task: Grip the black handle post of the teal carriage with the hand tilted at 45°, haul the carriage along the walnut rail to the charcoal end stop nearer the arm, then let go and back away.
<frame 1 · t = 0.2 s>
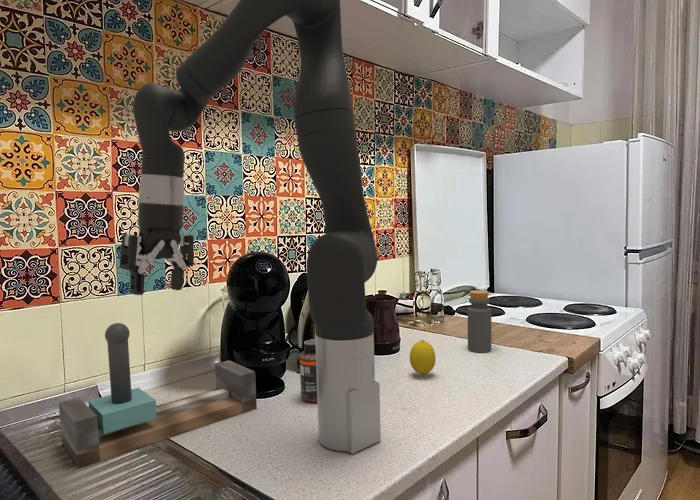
hand: (157, 292, 88), 23 cm above the worktop, tool pointing down, fingers open, 8 cm apart
bottle: (479, 350, 124), on the worktop
supplement bottle: (316, 398, 95), on the worktop
lemon: (422, 376, 106), on the worktop
rail: (166, 425, 85), on the worktop
carriage: (119, 371, 79), point 11 cm above the worktop, slide at 7.0 cm
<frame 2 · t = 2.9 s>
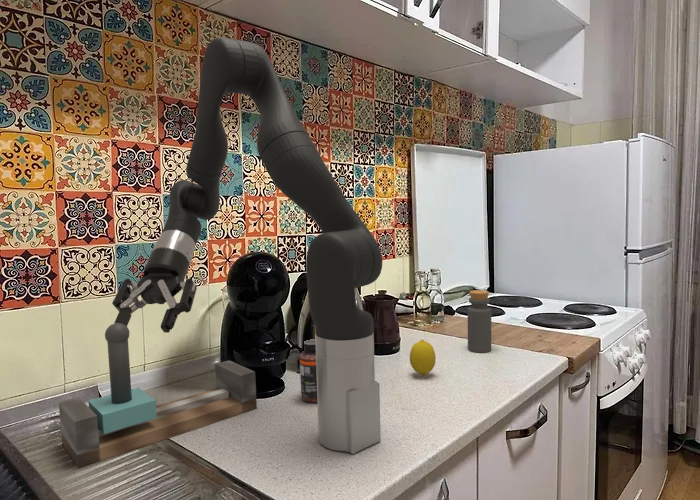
hand: (141, 330, 86), 16 cm above the worktop, tool tilted 45°, fingers open, 8 cm apart
nothing on the worktop moved.
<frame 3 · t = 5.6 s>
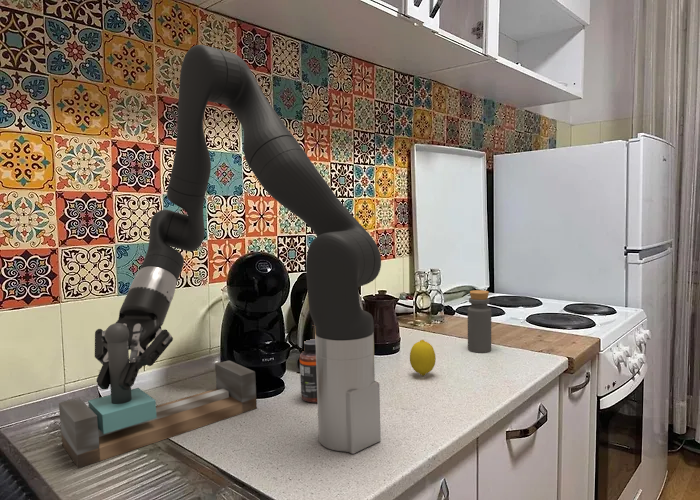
hand: (112, 387, 77), 9 cm above the worktop, tool tilted 45°, fingers closed on carriage, 3 cm apart
carriage: (119, 371, 79), point 11 cm above the worktop, slide at 7.0 cm, touching gripper
everything else where it was.
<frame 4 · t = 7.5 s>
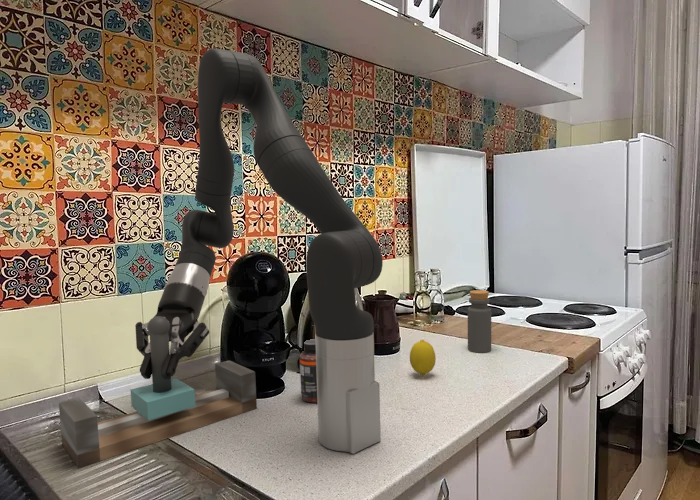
hand: (155, 376, 82), 9 cm above the worktop, tool tilted 45°, fingers closed on carriage, 3 cm apart
carriage: (160, 361, 84), point 11 cm above the worktop, slide at 0.3 cm, touching gripper
everything else where it was.
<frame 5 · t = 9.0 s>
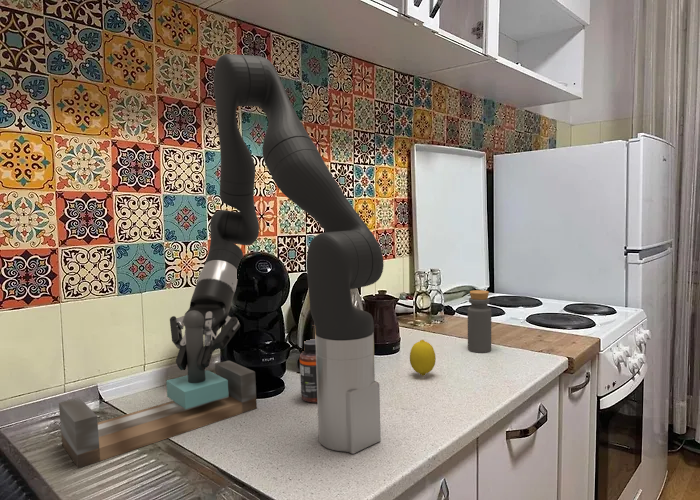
hand: (190, 367, 86), 9 cm above the worktop, tool tilted 45°, fingers closed on carriage, 3 cm apart
carriage: (195, 353, 88), point 11 cm above the worktop, slide at -5.9 cm, touching gripper
everything else where it was.
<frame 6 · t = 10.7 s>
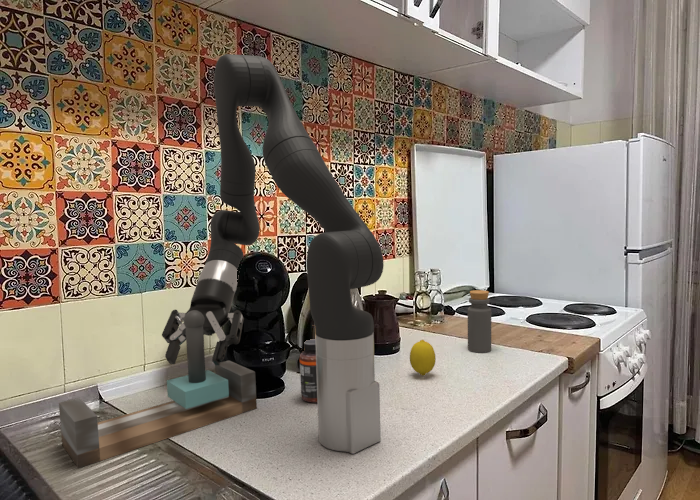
hand: (192, 362, 87), 10 cm above the worktop, tool tilted 45°, fingers open, 8 cm apart
carriage: (195, 353, 88), point 11 cm above the worktop, slide at -6.0 cm
everything else where it was.
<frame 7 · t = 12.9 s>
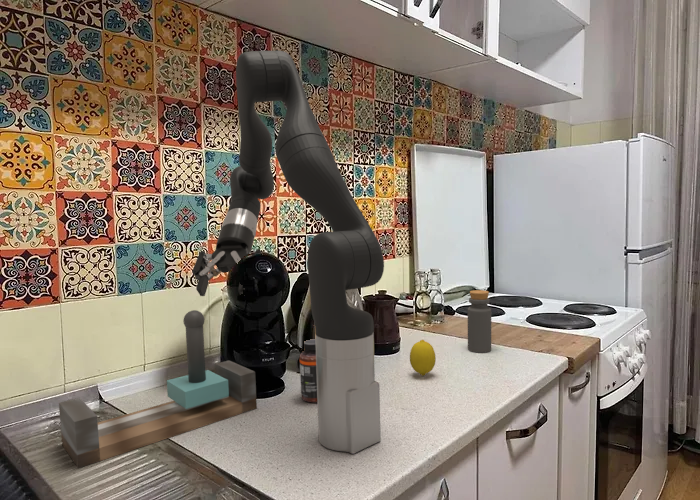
hand: (220, 293, 99), 20 cm above the worktop, tool tilted 45°, fingers open, 8 cm apart
nothing on the worktop moved.
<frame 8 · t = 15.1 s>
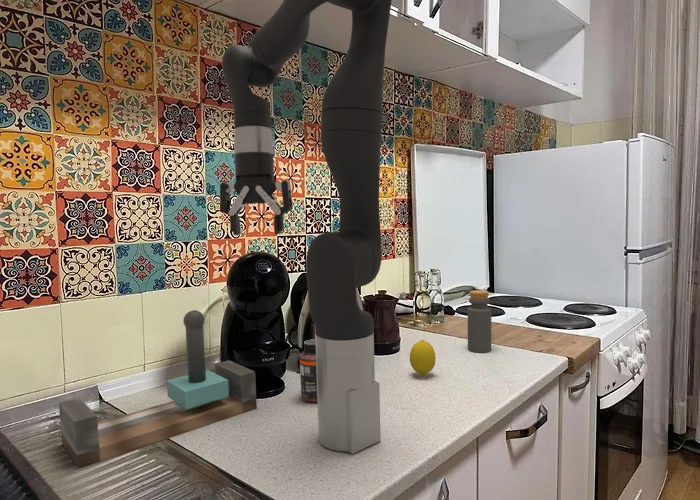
hand: (257, 234, 98), 32 cm above the worktop, tool pointing down, fingers open, 8 cm apart
nothing on the worktop moved.
at the end: carriage slide at -6.0 cm; the gripper is holding nothing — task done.
